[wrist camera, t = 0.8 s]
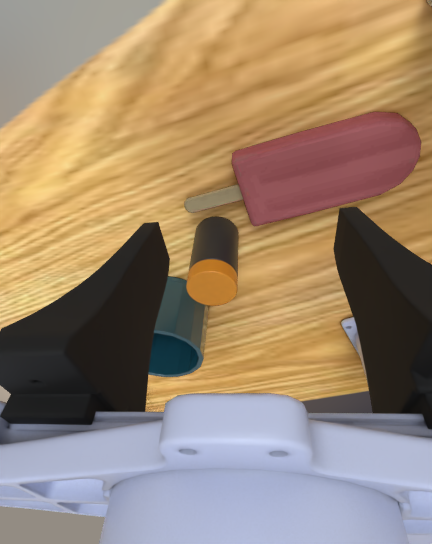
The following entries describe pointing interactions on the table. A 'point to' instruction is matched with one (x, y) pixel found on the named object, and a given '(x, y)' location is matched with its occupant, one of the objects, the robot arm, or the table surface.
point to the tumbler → (178, 332)
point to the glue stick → (214, 262)
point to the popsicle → (319, 168)
